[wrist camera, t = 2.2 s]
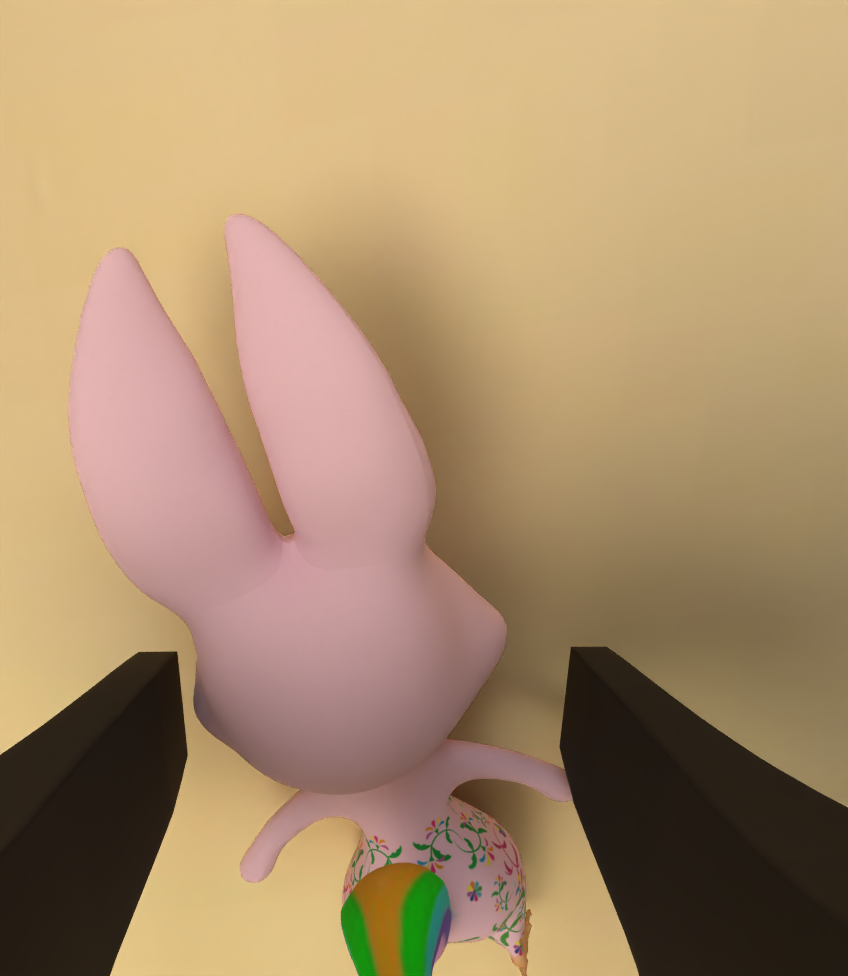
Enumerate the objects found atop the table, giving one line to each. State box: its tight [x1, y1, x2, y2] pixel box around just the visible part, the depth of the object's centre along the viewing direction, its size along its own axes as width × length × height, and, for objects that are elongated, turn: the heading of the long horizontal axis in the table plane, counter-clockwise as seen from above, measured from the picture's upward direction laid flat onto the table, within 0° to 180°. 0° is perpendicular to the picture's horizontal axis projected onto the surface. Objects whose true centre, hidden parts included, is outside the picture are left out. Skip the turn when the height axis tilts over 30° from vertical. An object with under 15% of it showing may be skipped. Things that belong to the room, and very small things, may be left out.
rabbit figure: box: [69, 214, 573, 976], centre depth 10 cm, size 6×6×15 cm
